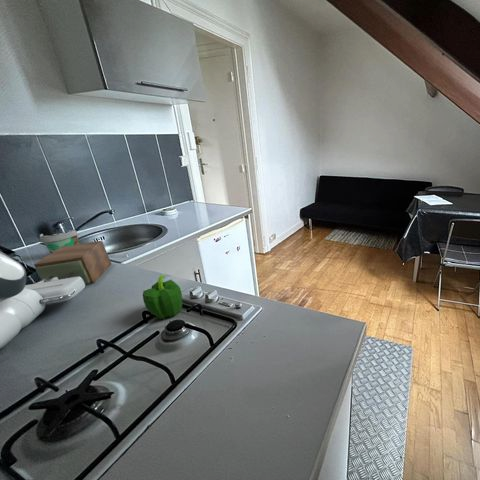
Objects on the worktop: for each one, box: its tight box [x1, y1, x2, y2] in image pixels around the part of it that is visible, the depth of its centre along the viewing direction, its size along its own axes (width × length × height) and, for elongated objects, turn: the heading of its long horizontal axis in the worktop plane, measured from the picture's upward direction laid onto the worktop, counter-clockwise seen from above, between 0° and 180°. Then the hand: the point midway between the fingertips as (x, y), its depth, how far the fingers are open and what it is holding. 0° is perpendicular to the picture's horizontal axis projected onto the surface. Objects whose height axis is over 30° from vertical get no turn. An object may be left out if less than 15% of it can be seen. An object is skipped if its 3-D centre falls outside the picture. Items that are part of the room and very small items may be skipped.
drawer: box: [35, 260, 90, 284], centre depth 84 cm, size 18×11×8 cm, turn 18°
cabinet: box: [33, 240, 112, 286], centre depth 88 cm, size 15×12×10 cm
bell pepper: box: [142, 274, 183, 320], centre depth 66 cm, size 8×8×10 cm
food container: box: [39, 229, 80, 254], centre depth 105 cm, size 12×6×10 cm, turn 105°
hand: (52, 279), depth 76 cm, fingers closed, pressing on drawer
